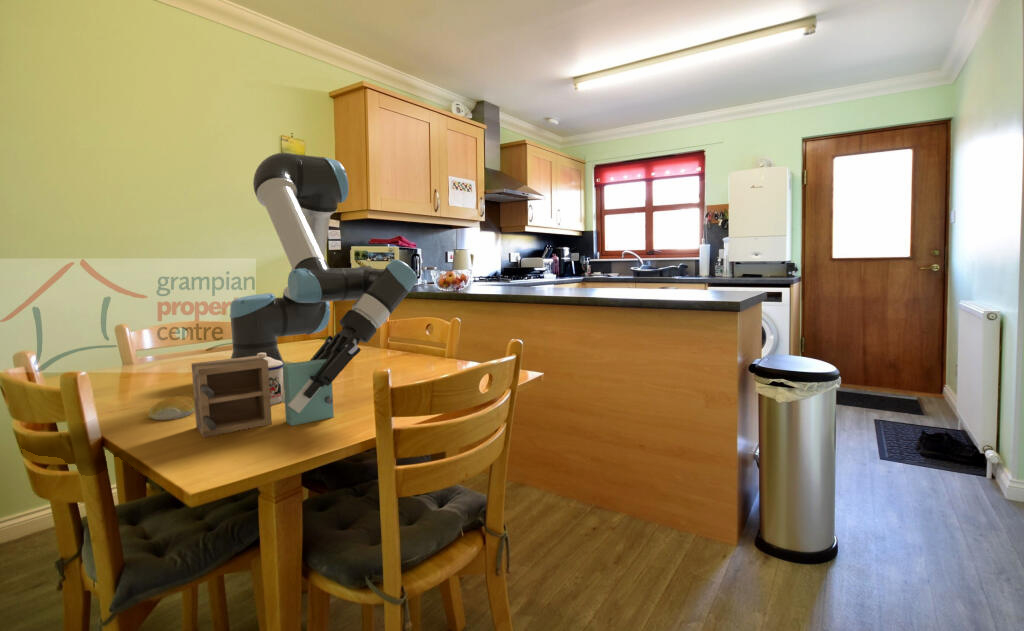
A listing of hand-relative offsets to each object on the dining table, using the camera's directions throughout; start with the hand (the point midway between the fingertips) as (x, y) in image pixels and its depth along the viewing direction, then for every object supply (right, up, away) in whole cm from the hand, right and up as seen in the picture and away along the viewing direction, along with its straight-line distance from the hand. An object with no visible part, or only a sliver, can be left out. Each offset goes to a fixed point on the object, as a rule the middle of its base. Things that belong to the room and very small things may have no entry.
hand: (290, 406), depth 105 cm
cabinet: (-9, -4, -3) cm, 10 cm away
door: (+3, -3, +3) cm, 5 cm away
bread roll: (-29, -3, +8) cm, 30 cm away
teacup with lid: (-12, -2, +18) cm, 21 cm away
